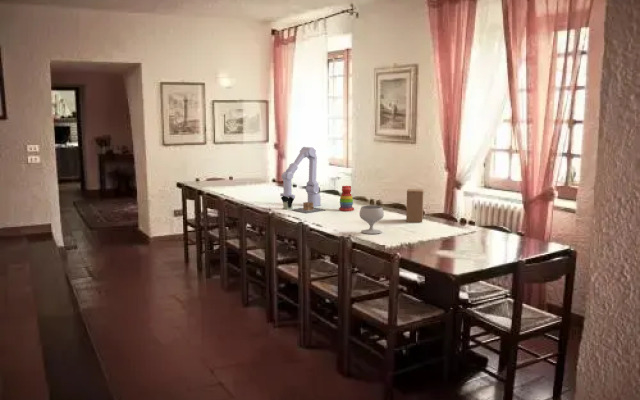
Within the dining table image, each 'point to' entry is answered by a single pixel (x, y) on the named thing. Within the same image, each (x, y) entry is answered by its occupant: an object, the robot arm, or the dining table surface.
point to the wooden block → (414, 205)
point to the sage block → (286, 206)
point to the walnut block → (307, 206)
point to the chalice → (371, 217)
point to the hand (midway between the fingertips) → (287, 207)
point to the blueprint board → (308, 210)
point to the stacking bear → (346, 199)
